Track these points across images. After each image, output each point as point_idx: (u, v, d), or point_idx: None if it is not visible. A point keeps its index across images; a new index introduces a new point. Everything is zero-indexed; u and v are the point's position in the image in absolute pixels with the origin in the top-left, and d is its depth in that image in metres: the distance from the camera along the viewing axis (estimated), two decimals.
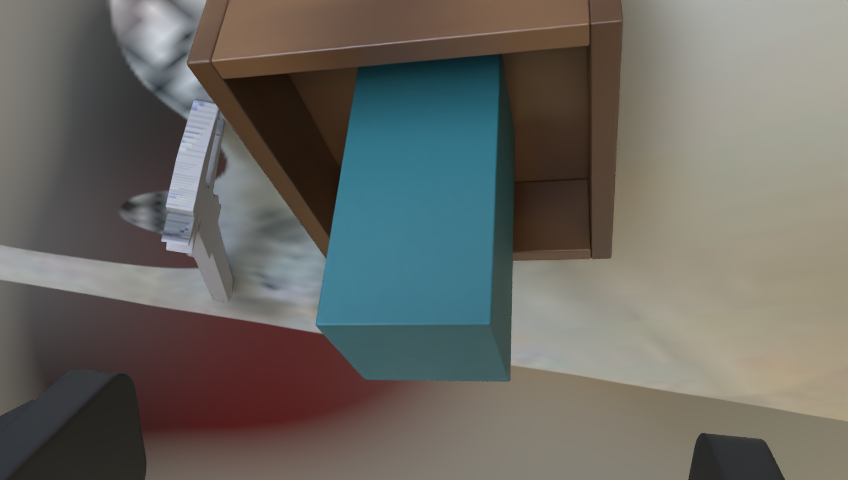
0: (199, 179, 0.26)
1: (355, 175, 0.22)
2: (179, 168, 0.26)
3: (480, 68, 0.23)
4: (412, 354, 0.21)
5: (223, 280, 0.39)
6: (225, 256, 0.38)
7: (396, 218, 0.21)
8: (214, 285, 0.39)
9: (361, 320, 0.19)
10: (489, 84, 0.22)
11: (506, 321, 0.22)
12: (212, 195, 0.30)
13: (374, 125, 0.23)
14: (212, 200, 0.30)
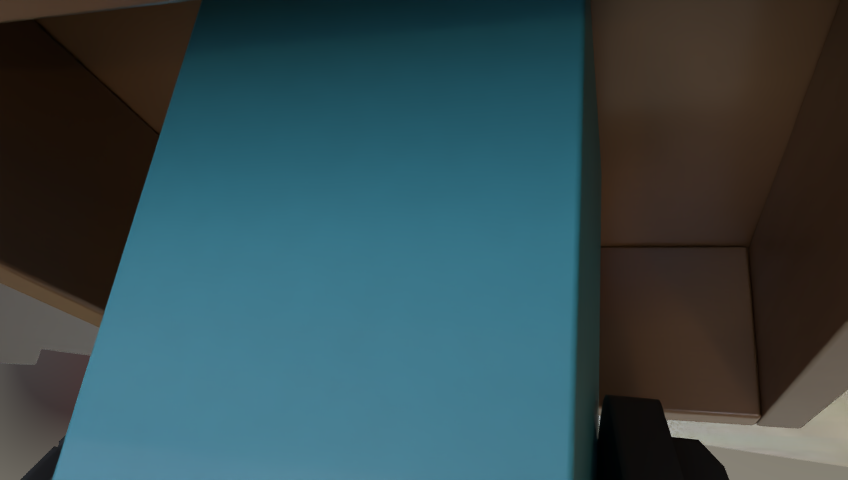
0: None
1: (129, 363, 0.07)
2: None
3: (524, 18, 0.08)
4: None
5: None
6: None
7: None
8: None
9: None
10: (551, 70, 0.07)
11: None
12: None
13: (208, 191, 0.08)
14: None
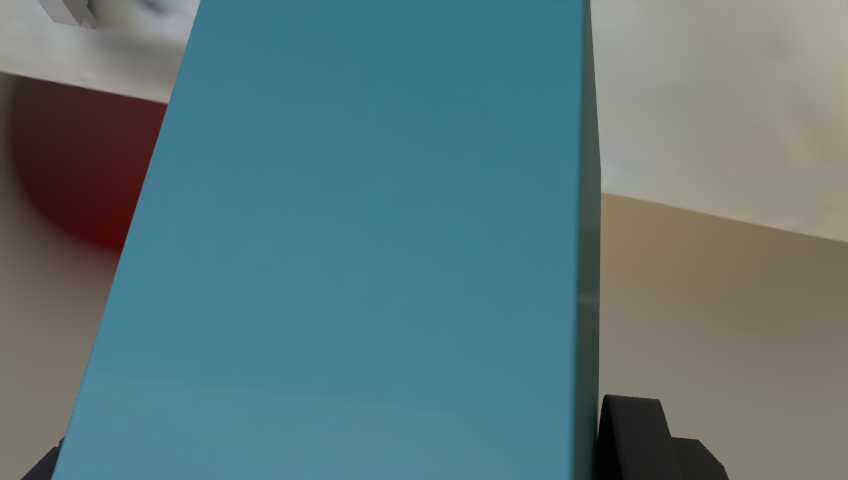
0: None
1: (129, 362, 0.07)
2: None
3: (524, 18, 0.08)
4: None
5: None
6: None
7: None
8: None
9: None
10: (550, 69, 0.07)
11: None
12: None
13: (208, 190, 0.08)
14: None
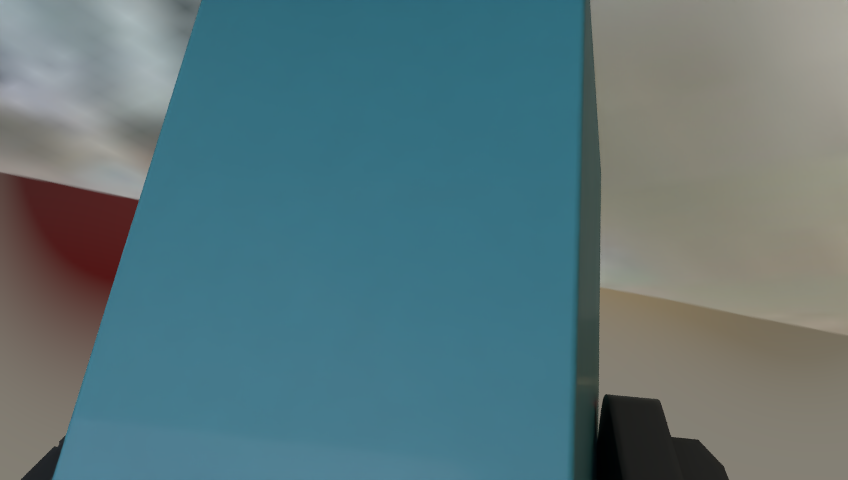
0: None
1: (129, 364, 0.07)
2: None
3: (524, 19, 0.08)
4: None
5: None
6: None
7: None
8: None
9: None
10: (550, 71, 0.07)
11: None
12: None
13: (208, 192, 0.08)
14: None
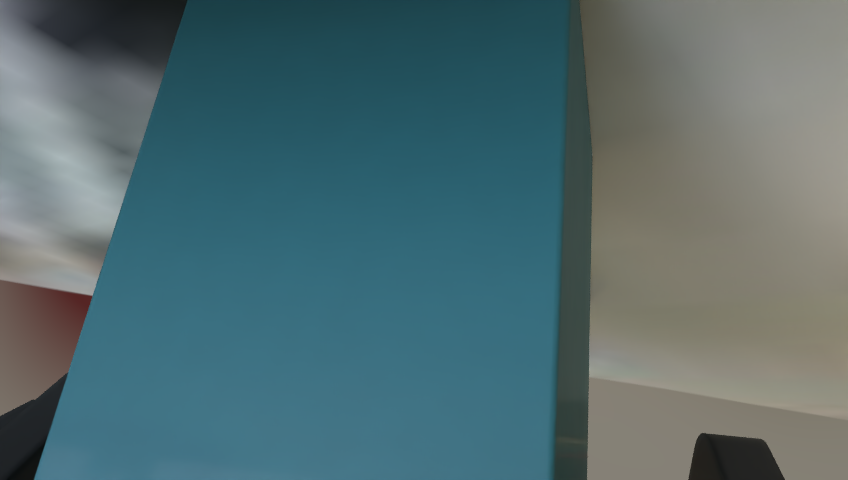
0: None
1: (120, 334, 0.07)
2: None
3: None
4: None
5: None
6: None
7: None
8: None
9: None
10: (536, 45, 0.07)
11: None
12: None
13: (198, 167, 0.08)
14: None
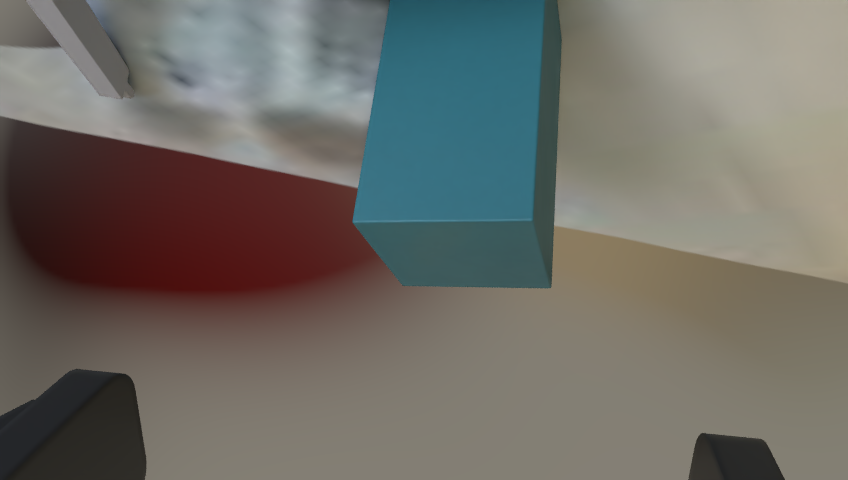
0: None
1: (393, 72, 0.21)
2: None
3: None
4: (451, 256, 0.20)
5: (84, 38, 0.26)
6: None
7: (435, 114, 0.20)
8: (74, 49, 0.26)
9: (399, 217, 0.19)
10: None
11: (548, 225, 0.21)
12: None
13: (413, 20, 0.22)
14: None
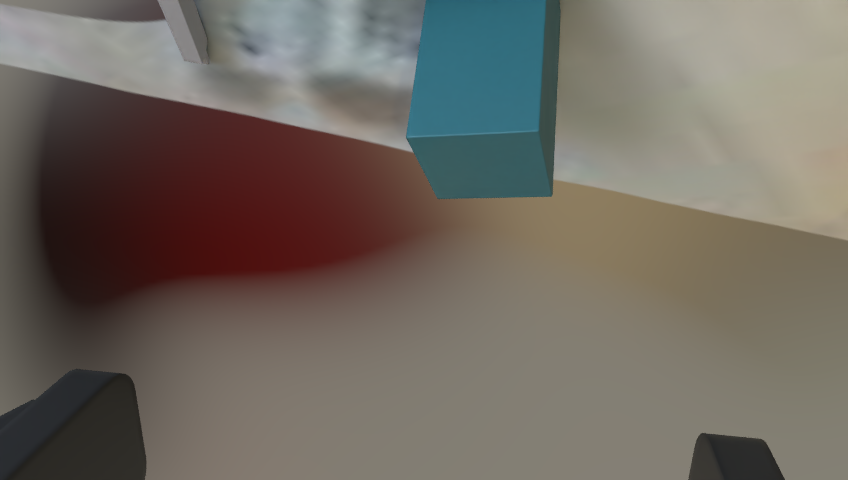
0: None
1: (433, 30, 0.28)
2: None
3: None
4: (477, 167, 0.27)
5: (184, 10, 0.33)
6: None
7: (466, 60, 0.27)
8: (175, 19, 0.33)
9: (440, 132, 0.26)
10: None
11: (550, 146, 0.28)
12: None
13: None
14: None
